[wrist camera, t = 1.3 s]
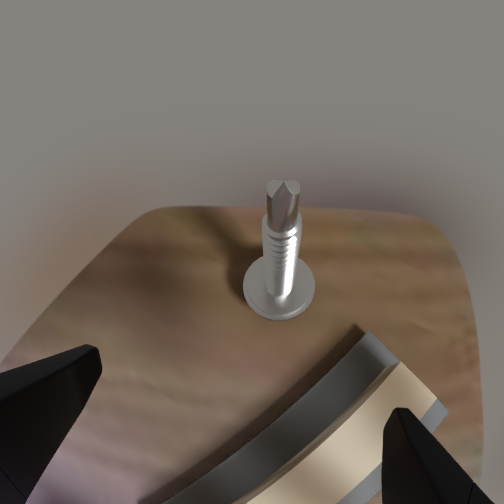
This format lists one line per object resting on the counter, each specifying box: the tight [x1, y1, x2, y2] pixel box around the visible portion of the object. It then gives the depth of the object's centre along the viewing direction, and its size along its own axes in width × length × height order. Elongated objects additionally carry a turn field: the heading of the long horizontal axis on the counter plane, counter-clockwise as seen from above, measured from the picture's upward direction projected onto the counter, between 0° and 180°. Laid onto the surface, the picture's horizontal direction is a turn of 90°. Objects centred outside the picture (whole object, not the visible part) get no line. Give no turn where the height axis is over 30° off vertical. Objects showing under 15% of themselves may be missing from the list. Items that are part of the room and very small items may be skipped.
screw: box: [243, 179, 315, 321], centre depth 18 cm, size 13×5×5 cm
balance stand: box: [160, 331, 449, 504], centre depth 16 cm, size 21×9×4 cm, turn 131°
